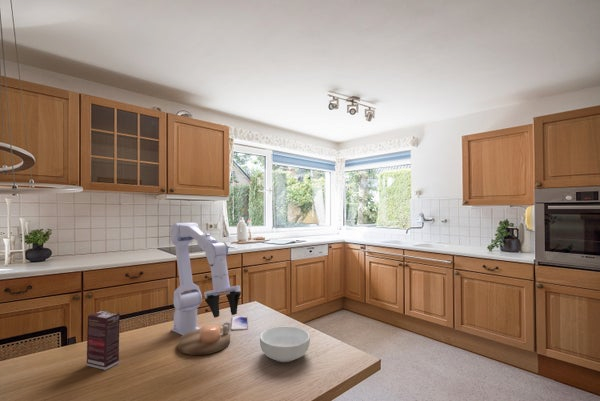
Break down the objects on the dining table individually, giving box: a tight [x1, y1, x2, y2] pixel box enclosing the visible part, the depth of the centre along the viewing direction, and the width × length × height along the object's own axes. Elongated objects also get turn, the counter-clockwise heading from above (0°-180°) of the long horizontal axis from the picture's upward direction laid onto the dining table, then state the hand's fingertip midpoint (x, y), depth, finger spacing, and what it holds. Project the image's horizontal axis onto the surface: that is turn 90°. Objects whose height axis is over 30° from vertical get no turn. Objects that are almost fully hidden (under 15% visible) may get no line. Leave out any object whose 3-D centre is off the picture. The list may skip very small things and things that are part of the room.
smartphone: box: [230, 315, 249, 332], centre depth 127 cm, size 7×1×15 cm
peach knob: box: [200, 324, 221, 344], centre depth 105 cm, size 7×7×4 cm
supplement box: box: [86, 310, 121, 371], centre depth 93 cm, size 9×5×16 cm, turn 71°
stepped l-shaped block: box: [221, 322, 231, 331], centre depth 117 cm, size 2×3×4 cm, turn 143°
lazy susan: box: [177, 324, 231, 356], centre depth 107 cm, size 18×18×5 cm
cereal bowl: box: [259, 325, 311, 363], centre depth 98 cm, size 17×17×7 cm
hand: (225, 315), depth 101 cm, fingers open, 7 cm apart
